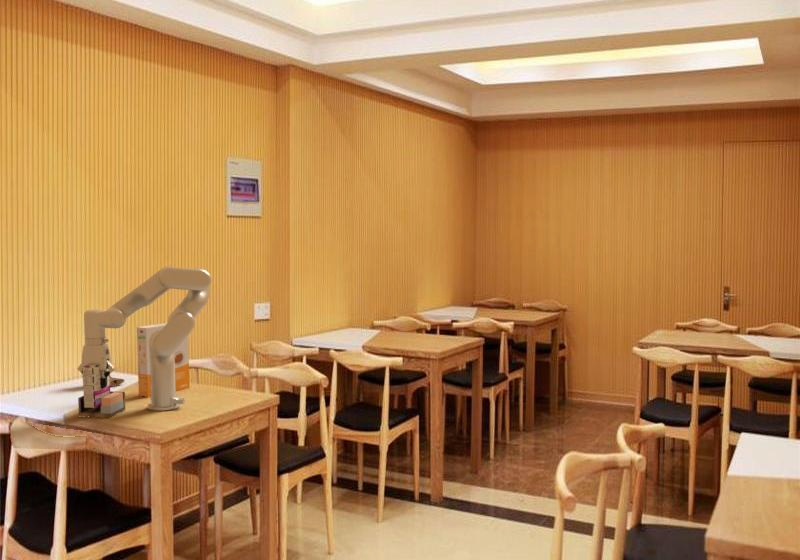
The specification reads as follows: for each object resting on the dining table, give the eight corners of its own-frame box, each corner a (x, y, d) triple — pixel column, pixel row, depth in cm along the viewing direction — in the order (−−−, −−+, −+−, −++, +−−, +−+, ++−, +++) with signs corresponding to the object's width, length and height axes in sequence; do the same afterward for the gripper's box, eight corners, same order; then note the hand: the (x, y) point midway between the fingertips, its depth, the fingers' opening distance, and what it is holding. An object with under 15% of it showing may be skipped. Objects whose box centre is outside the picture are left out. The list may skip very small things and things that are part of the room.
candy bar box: (99, 401, 306) (98, 360, 305) (111, 402, 305) (109, 361, 304) (83, 408, 296) (81, 366, 294) (94, 408, 295) (93, 366, 293)
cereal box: (180, 386, 351) (178, 321, 349) (189, 388, 347) (187, 322, 345) (138, 395, 332) (136, 327, 330) (148, 397, 329) (146, 328, 327)
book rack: (125, 410, 307) (124, 391, 306) (110, 417, 294) (109, 398, 294) (94, 409, 308) (94, 391, 308) (78, 417, 296) (77, 398, 295)
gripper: (120, 340, 301) (122, 386, 303) (79, 339, 303) (81, 385, 305) (111, 343, 294) (112, 390, 295) (69, 342, 296) (70, 389, 297)
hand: (96, 387), depth 300 cm, fingers closed on candy bar box, 5 cm apart
